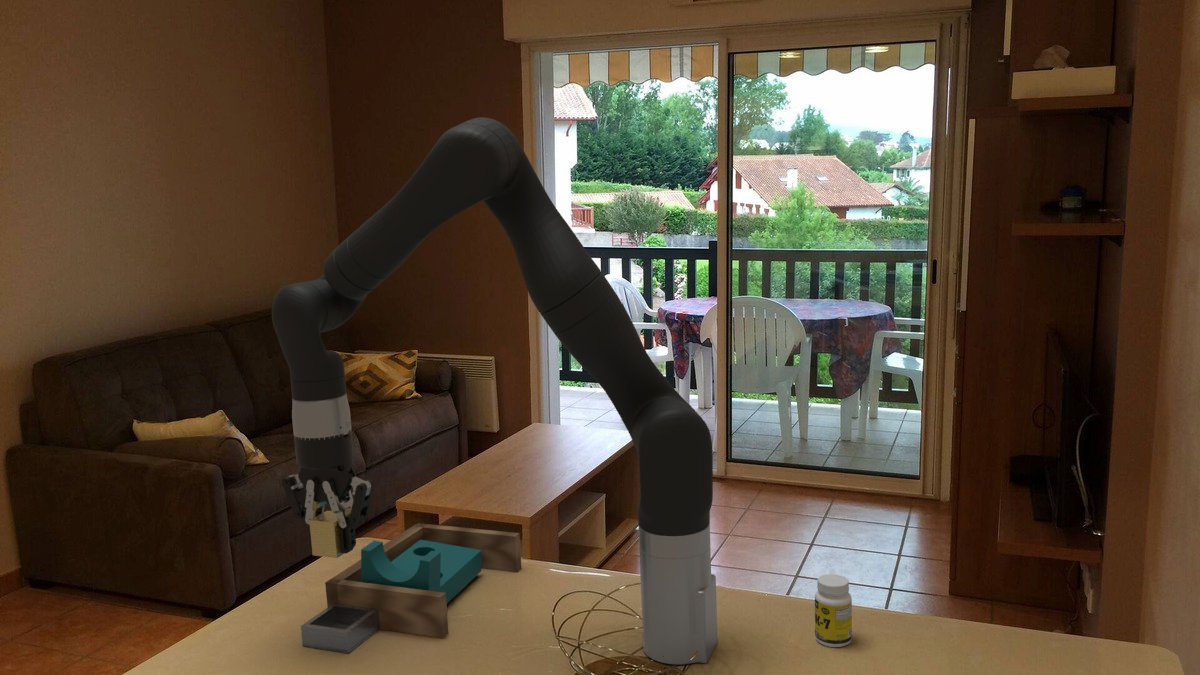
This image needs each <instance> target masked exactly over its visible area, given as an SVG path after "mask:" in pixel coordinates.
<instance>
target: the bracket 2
mask: <svg viewBox="0 0 1200 675" xmlns="http://www.w3.org/2000/svg"><path fill="white" fill-rule="evenodd" d="M520 536H521V535H520V532H511V531H510V532H509V531H501V530H500V531H499V530H489V529H480V528H479V529H478V528H470V527H469V528H468V527H459V526H450V525H439V524H430V523H420V522H417V523H415V524H414V525H413V526H411V527H409V528H407V529H406V530H405V531H403V532H402V533H400V534H399V535H397V536H395V537H394V538H392V539H391V540H389V541H387V542H385V543H383V548H384V552H385V554H386V556H387V558H388V559H389V561H390V562H392V561H393V560H394V559H396V558H397V557H398V556H400V555H401V554H402V553H403V552H405V551H406V550H407V549H409V548H410V547H411V546H413V545H414V544H415V543H417V542H418V541H419V540H425V541H431V542H437V543H443V544H448V545H454V546H460V547H466V548H472V549H478V550H481V569H487V570H488V569H489V570H496V571H502V572H504V571H505V572H513V573H518V572H519V571H520V570H522V557H521V556H522V555H521V554H522V553H521V541H520V540H521V539H520V538H521V537H520ZM324 584H325V593H326V604H327V607H326V608H328V607H329V606H331V605H332V604H334V603H337V604H345V605H352V606H359V607H367V608H374V609H378V610H379V622H380V630H384V631H392V632H399V633H405V634H412V635H420V636H426V637H433V638H440V639H445V637H446V636H448V635H449V621H448V608H447V604H448V603H447V604H446V593H444V592H436V591H428V590H420V589H412V588H404V587H396V586H388V585H380V584H372V583H364V582H361V559H360V560H358V561H357V562H355V563H353V564H352V565H350V566H348V567H347V568H345V569H344V570H341V572H339V573H338V574H336V575H335V576H333V577H332V578H330V579H328V580H327V581H325V582H324Z"/></svg>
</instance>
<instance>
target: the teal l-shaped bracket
mask: <svg viewBox="0 0 1200 675" xmlns="http://www.w3.org/2000/svg"><path fill="white" fill-rule="evenodd" d="M383 545H384V541H379V540H373V541H371V542H370V543H368V544H367V545H366V546H364V547H362V549H360V560H361V582H364V583H372V584H380V585H388V586H396V587H404V588H412V589H420V590H428V591H436V592H444V593H446V604H448V603H449V602H450V601H451V600H452V599H454V598H455V597H456V595H458V594H459V593H460V592H461V591H462V590H463V589H464V588H465V587H466V586H467V585H468V584H469V583H470V582H471V581H472V580H473V579H475V577H477V576H478V575H479V574H480V573H481V572H482V568H481V550H478V549H472V548H466V547H460V546H454V545H448V544H443V543H437V542H431V541H425V540H419V541H418V542H417V543H415V544H414V545H413V546H411V547H410V548H409V549H407V550H406V551H405V552H403V553H402V554H401V555H400V556H398V557H397V558H396V559H394V560H393V561H392V562H390V561H389V559H388V558H387V556H386V554H385V552H384V548H383Z"/></svg>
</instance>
